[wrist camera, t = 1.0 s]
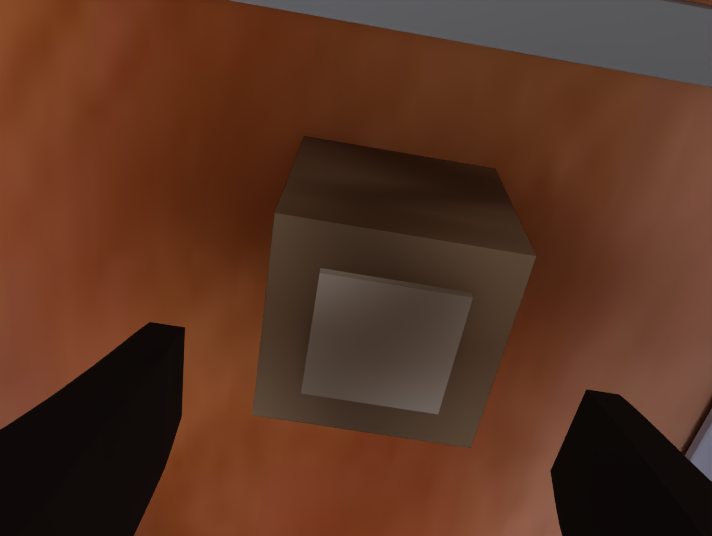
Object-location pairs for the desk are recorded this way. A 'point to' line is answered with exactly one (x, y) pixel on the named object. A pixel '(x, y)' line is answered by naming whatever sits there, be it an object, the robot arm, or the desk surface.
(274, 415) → the brown cube
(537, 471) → the desk surface
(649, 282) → the desk surface
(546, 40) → the screen
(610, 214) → the desk surface
